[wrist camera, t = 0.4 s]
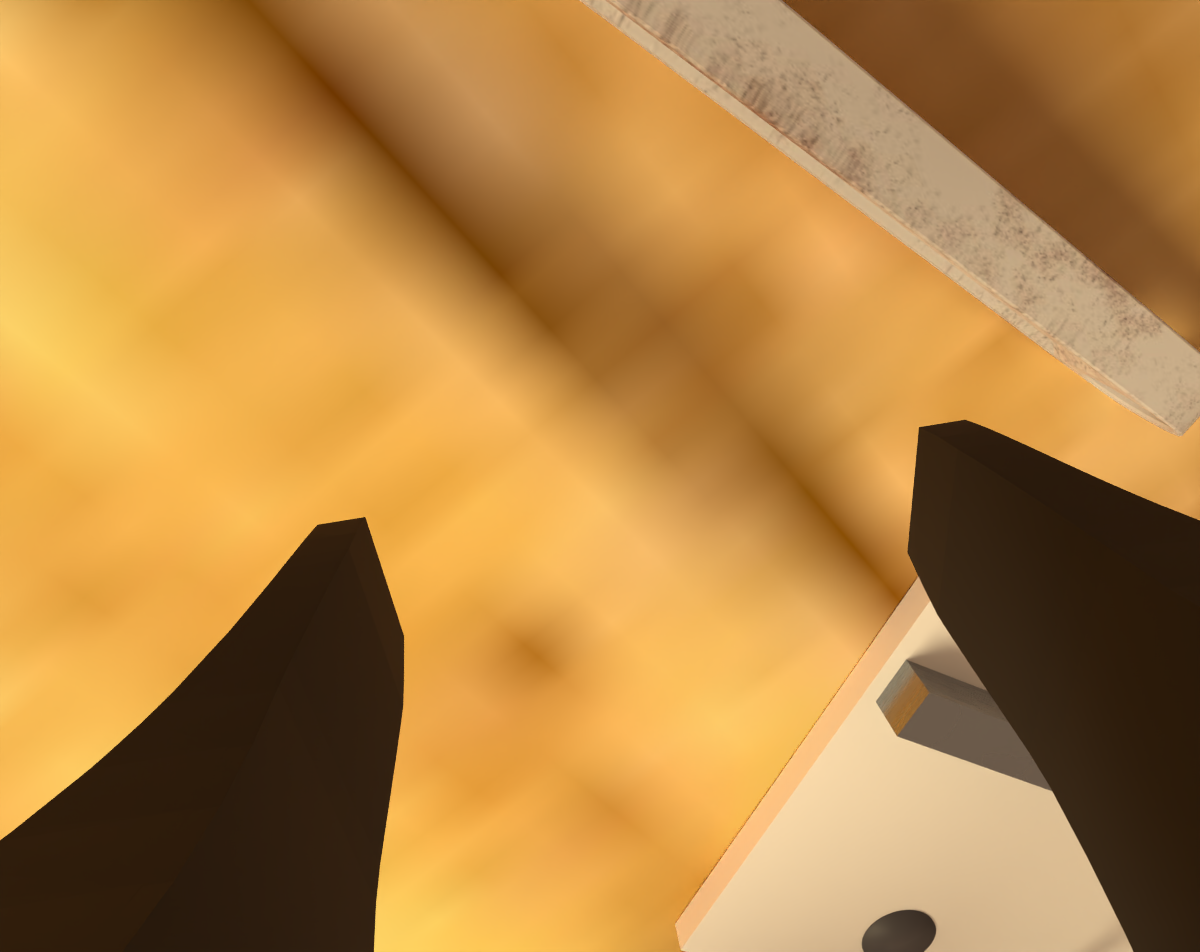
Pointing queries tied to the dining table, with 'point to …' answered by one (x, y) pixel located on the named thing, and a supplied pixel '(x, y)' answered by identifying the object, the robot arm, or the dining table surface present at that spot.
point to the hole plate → (900, 839)
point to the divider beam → (955, 721)
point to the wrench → (919, 190)
